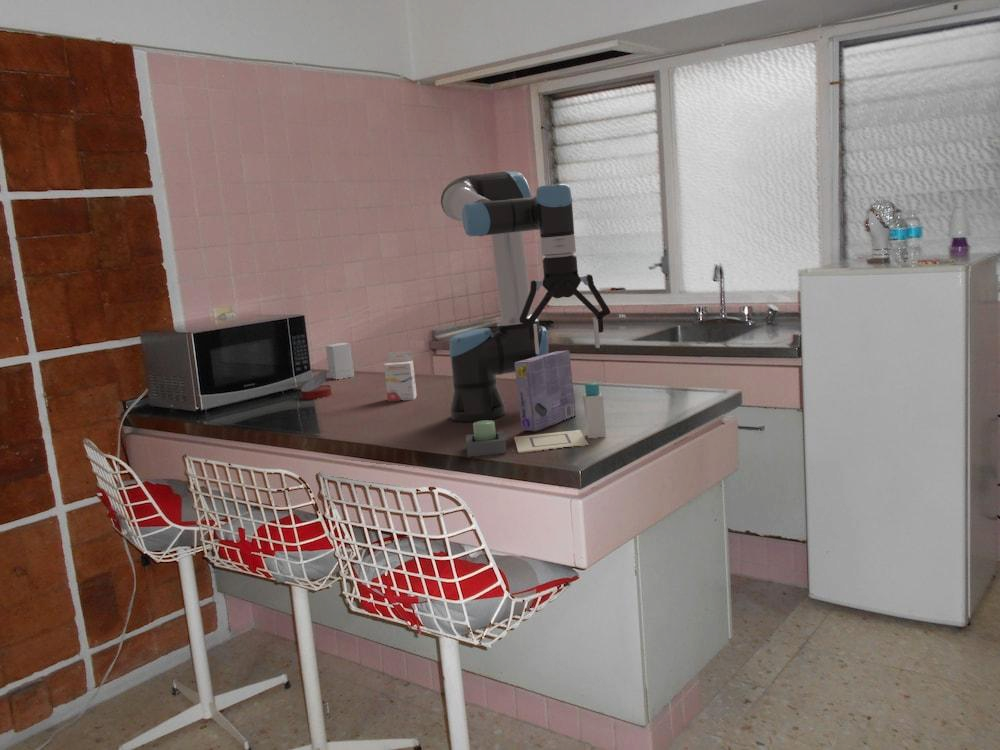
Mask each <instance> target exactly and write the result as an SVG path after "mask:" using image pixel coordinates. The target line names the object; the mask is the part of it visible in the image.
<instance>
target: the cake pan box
mask: <svg viewBox="0 0 1000 750" xmlns="http://www.w3.org/2000/svg"><path fill="white" fill-rule="evenodd" d="M571 363H572V362H571V352H570V350H568V349H567V350H558V351H553V352H548V354H545V355H541V356H537V357H533V358H529V359H526V360H522V361H518V362H515V378H516V381H515V382H516V388H517V397H518V407H519V417H520V427H521V430H522V431H526V432H534V433H536V432H538V431H541V430H544V429H546V428H549V427H552V426H553V427H554V426H555V425H558V424H560V423H562V422H564V421H567V420H569V419H571V417H572V418H574V416H575V417H577V414H576V406H575V403H576V402H575V393H574V384H573V383H574V382H573V374H572V372H573V371H572V364H571ZM566 419H567V420H566ZM563 420H564V421H563ZM561 421H562V422H561ZM559 422H560V423H559ZM557 423H558V424H557Z"/></svg>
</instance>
